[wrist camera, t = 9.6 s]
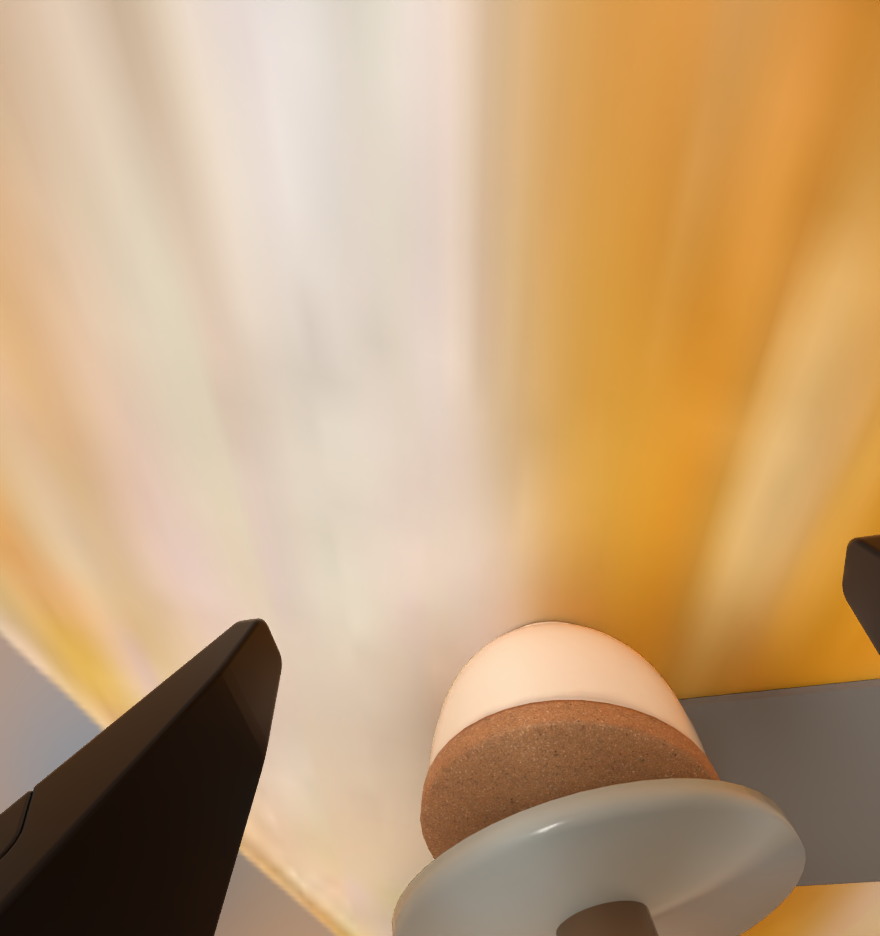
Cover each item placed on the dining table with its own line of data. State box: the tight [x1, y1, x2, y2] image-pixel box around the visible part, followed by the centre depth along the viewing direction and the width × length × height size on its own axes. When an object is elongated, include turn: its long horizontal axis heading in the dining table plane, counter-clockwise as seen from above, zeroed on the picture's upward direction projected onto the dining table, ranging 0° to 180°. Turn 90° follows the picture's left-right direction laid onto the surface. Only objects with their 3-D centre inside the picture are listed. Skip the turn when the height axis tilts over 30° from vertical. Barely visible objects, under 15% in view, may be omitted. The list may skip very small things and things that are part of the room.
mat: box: [679, 679, 880, 886], centre depth 30 cm, size 16×16×1 cm
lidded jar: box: [420, 621, 720, 859], centre depth 22 cm, size 11×11×9 cm
